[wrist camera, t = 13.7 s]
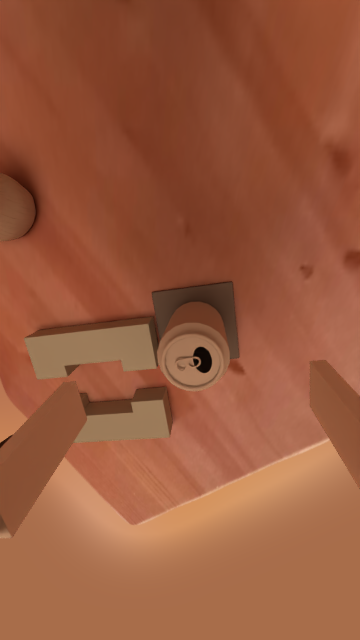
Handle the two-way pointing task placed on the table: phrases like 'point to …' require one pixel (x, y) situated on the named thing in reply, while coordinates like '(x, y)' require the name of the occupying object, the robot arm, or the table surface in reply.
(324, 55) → the table surface
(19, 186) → the decorative ornament
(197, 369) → the can
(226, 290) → the coaster
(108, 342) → the pocket block
